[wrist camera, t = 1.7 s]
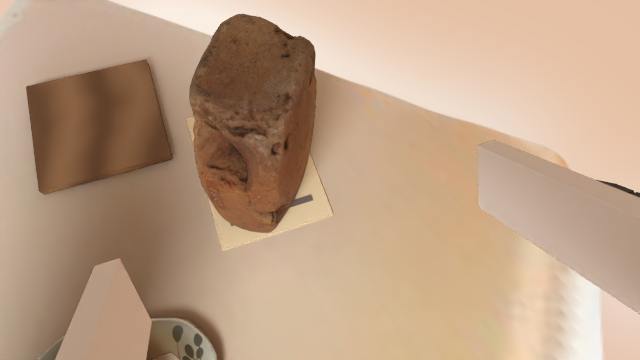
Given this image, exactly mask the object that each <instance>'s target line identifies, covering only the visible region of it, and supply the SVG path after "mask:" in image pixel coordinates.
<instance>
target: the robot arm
mask: <svg viewBox="0 0 640 360" xmlns="http://www.w3.org/2000/svg"><path fill="white" fill-rule="evenodd" d="M477 154H478V188H479V208H480V209H482V210H483V211H485V212H486V213H488V214H489V215H491V216H492V217H494V218H495V219H497V220H498V221H500V222H501V223H503V224H504V225H506V226H507V227H509V228H510V229H512V230H513V231H515V232H516V233H518V234H519V235H521V236H522V237H524V238H525V239H527V240H528V241H530V242H531V243H533V244H534V245H536V246H537V247H539V248H540V249H542V250H543V251H545V252H546V253H548V254H549V255H551V256H552V257H554V258H556V259H557V260H559V261H560V262H562V263H563V264H565V265H566V266H568V267H569V268H571V269H572V270H574V271H575V272H577V273H578V274H580V275H581V276H583V277H584V278H586V279H587V280H589V281H590V282H592V283H593V284H595V285H596V286H598V287H599V288H601V289H602V290H604V291H605V292H607V293H608V294H610V295H611V296H613V297H614V298H616V299H617V300H619V301H620V302H622V303H623V304H625V305H626V306H628V307H629V308H631V309H632V310H634V311H635V312H637V313H639V314H640V193H638V192H636V193H634V191H633V190H630V189H628V188H625V187H623V186H620V185H617V184H614V183H608V182H604V181H599V180H594V179H592V178H589V177H587V176H584V175H582V174H579V173H576V172H574V171H572V170H569V169H567V168H564V167H562V166H559V165H557V164H554V163H552V162H549V161H547V160H544V159H542V158H539V157H536V156H534V155H531V154H529V153H526V152H524V151H521V150H519V149H516V148H514V147H511V146H509V145H506V144H504V143H501V142H499V141H496V140H493V141H489V142H486V143H483V144H480V145H477ZM151 324H152V321H151V319H150V317H149V315H148V313H147V311H146V309H145V307H144V305H143V303H142V301H141V299H140V297H139V295H138V293H137V291H136V289H135V287H134V285H133V283H132V281H131V279H130V277H129V275H128V273H127V271H126V270H125V268H124V266H123V264H122V262H121V260H120V258H118V259H115V260H111V261H108V262H105V263H102V264H99V265H96V266H94V268H93V271H92V273H91V276H90V278H89V280H88V283H87V285H86V287H85V290H84V292H83V295H82V297H81V299H80V302H79V304H78V306H77V309H76V311H75V313H74V316H73V318H72V321H71V323H70V325H69V328H68V330H67V332H66V335H65V337H64V340H63V342H62V344H61V347H60V349H59V351H58V354H57V356H56V359H55V360H146V357H147V350H148V343H149V337H150V330H151Z"/></svg>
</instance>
